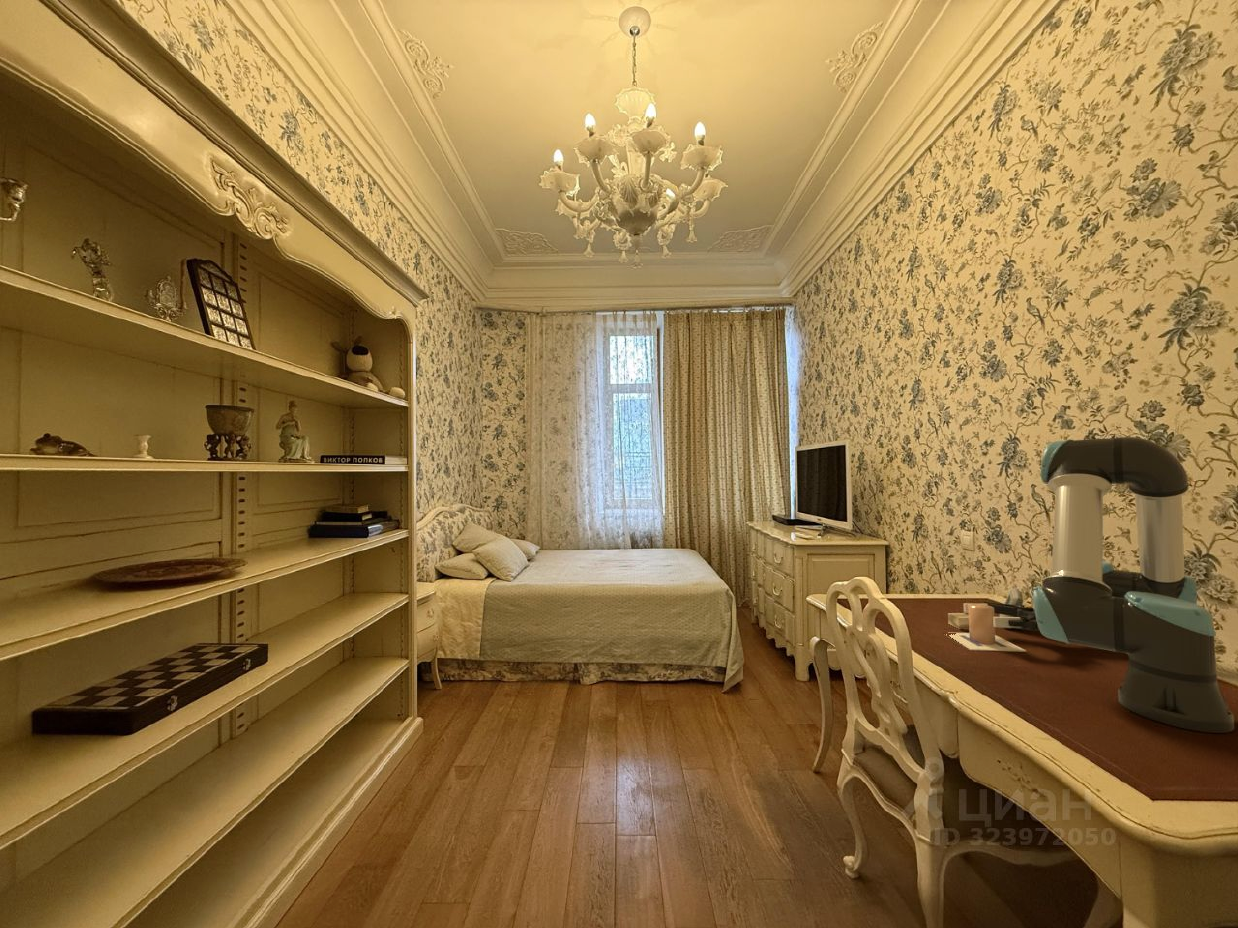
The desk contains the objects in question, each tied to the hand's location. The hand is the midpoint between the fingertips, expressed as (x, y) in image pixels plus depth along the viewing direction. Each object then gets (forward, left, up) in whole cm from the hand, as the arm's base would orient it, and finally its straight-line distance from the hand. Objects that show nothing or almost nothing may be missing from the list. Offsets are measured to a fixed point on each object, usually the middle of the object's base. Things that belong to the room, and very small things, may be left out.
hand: (978, 614), depth 136 cm
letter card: (0, -1, -8) cm, 8 cm away
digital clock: (+18, -20, -8) cm, 28 cm away
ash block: (+13, -2, -8) cm, 15 cm away
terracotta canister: (0, -1, -7) cm, 8 cm away
